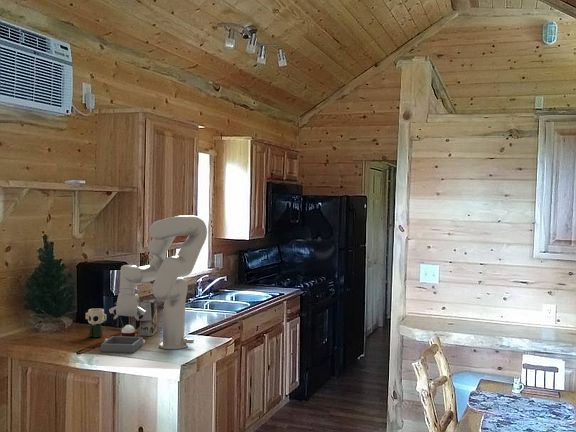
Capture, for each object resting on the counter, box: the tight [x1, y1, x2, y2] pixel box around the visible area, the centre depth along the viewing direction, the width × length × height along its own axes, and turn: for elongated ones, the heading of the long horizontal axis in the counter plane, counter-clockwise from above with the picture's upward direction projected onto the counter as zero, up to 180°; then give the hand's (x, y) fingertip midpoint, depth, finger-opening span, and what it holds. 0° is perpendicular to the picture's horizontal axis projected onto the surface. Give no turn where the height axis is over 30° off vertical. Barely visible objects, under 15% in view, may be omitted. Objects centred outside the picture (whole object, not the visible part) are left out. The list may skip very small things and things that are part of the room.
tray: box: [100, 335, 144, 354], centre depth 271 cm, size 14×15×4 cm
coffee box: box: [139, 299, 158, 337], centre depth 300 cm, size 9×6×16 cm
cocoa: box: [118, 315, 139, 337], centre depth 288 cm, size 10×6×12 cm, turn 71°
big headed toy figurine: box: [85, 308, 107, 338], centre depth 290 cm, size 11×7×13 cm, turn 76°
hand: (126, 327), depth 288 cm, fingers open, 9 cm apart
